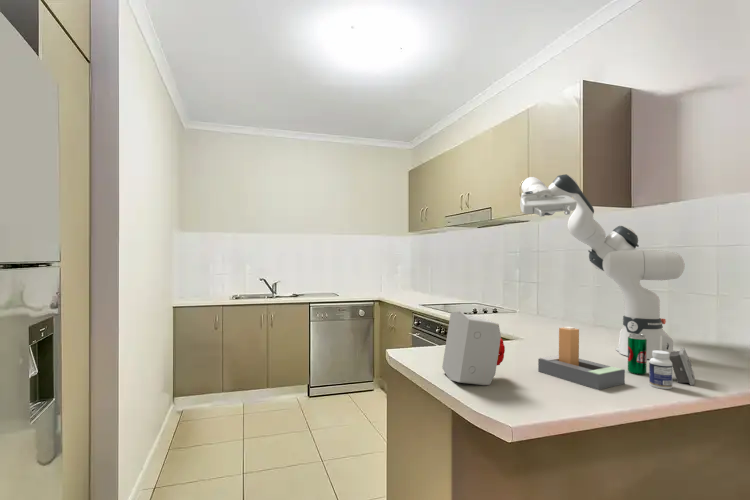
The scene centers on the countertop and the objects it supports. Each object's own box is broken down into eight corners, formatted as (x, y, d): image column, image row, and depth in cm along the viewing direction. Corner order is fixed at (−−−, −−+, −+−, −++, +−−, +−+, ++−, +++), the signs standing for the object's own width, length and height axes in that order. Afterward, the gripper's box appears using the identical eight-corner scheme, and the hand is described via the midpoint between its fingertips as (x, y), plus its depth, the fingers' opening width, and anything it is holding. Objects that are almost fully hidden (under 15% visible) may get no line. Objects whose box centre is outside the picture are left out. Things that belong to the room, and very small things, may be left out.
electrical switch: (694, 386, 118) (690, 353, 119) (672, 384, 121) (668, 352, 122) (695, 379, 125) (691, 347, 126) (674, 377, 129) (670, 347, 129)
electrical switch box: (508, 393, 117) (519, 322, 118) (458, 387, 115) (469, 314, 115) (486, 377, 131) (495, 314, 132) (441, 372, 129) (451, 308, 130)
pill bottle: (650, 382, 121) (650, 348, 122) (673, 386, 118) (673, 351, 118) (648, 386, 117) (648, 351, 117) (671, 390, 114) (671, 355, 114)
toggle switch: (563, 366, 137) (563, 354, 137) (624, 383, 120) (624, 369, 120) (538, 371, 131) (538, 358, 131) (598, 389, 114) (598, 374, 114)
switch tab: (567, 367, 131) (567, 325, 132) (578, 371, 128) (579, 328, 128) (558, 369, 130) (559, 326, 130) (570, 372, 126) (570, 328, 126)
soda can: (639, 376, 128) (640, 336, 128) (623, 371, 132) (624, 333, 132) (650, 374, 130) (650, 335, 130) (634, 370, 135) (634, 332, 135)
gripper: (567, 203, 169) (582, 219, 157) (516, 207, 169) (527, 223, 157) (569, 189, 165) (585, 204, 153) (517, 193, 166) (529, 208, 154)
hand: (555, 213), depth 155 cm, fingers open, 8 cm apart
